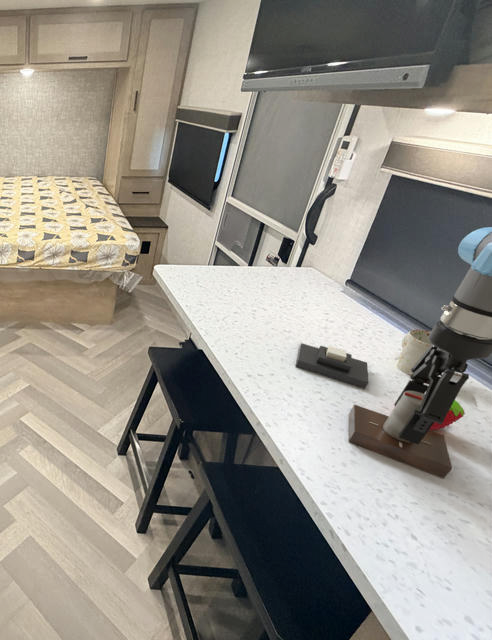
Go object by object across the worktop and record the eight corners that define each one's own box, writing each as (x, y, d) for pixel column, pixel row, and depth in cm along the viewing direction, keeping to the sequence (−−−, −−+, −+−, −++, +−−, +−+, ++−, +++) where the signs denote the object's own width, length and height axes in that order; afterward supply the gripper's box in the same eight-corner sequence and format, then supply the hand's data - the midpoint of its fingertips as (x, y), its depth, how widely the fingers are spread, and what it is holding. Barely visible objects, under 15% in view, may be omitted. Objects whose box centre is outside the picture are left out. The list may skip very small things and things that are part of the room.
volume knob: (414, 431, 80) (438, 396, 76) (417, 447, 77) (443, 411, 73) (382, 420, 83) (403, 385, 79) (383, 434, 80) (405, 399, 75)
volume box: (435, 445, 81) (444, 434, 80) (443, 478, 74) (453, 467, 73) (348, 414, 89) (354, 403, 87) (348, 441, 82) (354, 430, 81)
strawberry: (397, 412, 89) (419, 377, 85) (440, 421, 87) (465, 385, 82) (410, 430, 85) (434, 394, 80) (455, 440, 82) (483, 404, 77)
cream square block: (343, 356, 102) (346, 350, 101) (343, 362, 100) (346, 357, 99) (326, 351, 104) (328, 345, 103) (325, 357, 102) (328, 352, 101)
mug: (401, 377, 100) (421, 344, 95) (375, 349, 111) (392, 319, 106) (443, 383, 98) (465, 350, 93) (412, 354, 108) (431, 323, 104)
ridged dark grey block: (363, 369, 103) (370, 356, 101) (364, 389, 96) (371, 376, 94) (298, 349, 111) (303, 337, 109) (295, 366, 104) (300, 354, 102)
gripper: (429, 298, 78) (378, 385, 89) (449, 351, 63) (383, 449, 73) (485, 310, 74) (424, 400, 85) (521, 370, 59) (441, 471, 69)
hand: (405, 423), depth 79 cm, fingers open, 10 cm apart
